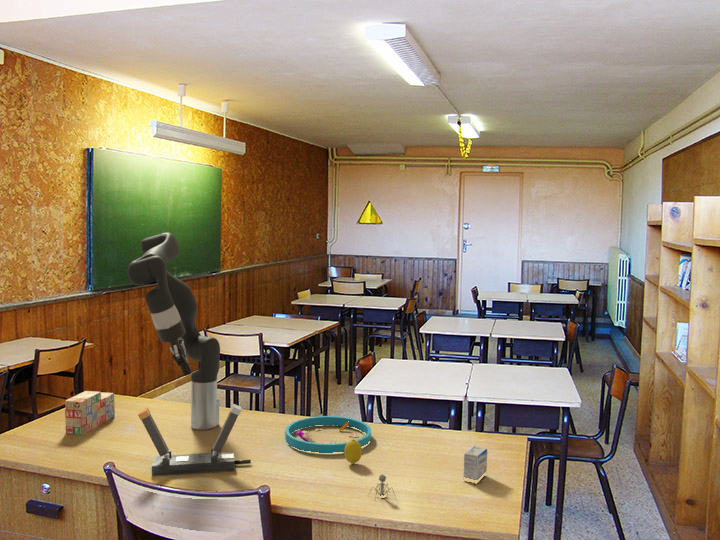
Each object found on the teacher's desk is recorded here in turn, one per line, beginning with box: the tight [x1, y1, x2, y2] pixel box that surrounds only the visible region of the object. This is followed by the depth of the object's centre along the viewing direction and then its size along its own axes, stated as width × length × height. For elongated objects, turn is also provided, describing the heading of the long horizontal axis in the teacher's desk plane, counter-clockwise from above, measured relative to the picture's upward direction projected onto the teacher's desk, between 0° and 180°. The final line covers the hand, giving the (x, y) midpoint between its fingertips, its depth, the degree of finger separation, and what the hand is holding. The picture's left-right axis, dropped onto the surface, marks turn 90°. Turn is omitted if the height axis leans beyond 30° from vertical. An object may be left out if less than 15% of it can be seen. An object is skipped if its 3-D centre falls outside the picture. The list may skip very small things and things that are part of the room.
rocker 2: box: [212, 403, 243, 455], centre depth 193 cm, size 3×4×17 cm, turn 13°
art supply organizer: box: [284, 415, 372, 453], centre depth 220 cm, size 30×30×6 cm
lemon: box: [343, 438, 363, 464], centre depth 198 cm, size 6×6×8 cm
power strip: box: [151, 447, 252, 477], centre depth 192 cm, size 29×8×5 cm, turn 102°
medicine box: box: [463, 445, 488, 480], centre depth 189 cm, size 8×4×9 cm, turn 148°
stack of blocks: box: [64, 390, 116, 436], centre depth 229 cm, size 21×6×12 cm, turn 171°
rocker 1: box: [137, 407, 170, 458], centre depth 189 cm, size 3×4×17 cm, turn 12°
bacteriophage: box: [368, 474, 396, 500], centre depth 175 cm, size 7×8×7 cm
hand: (188, 374), depth 188 cm, fingers closed
